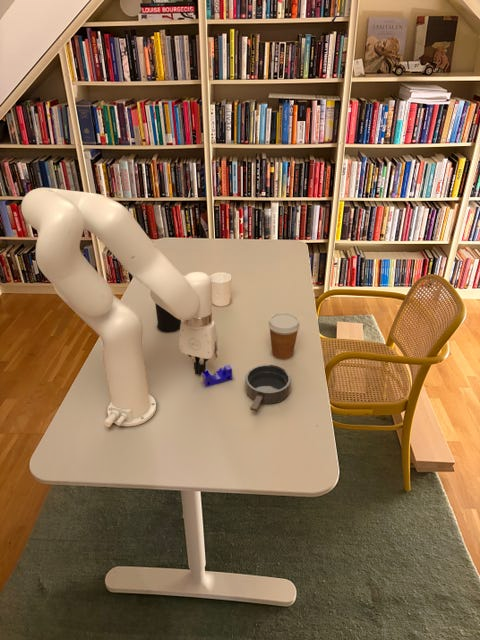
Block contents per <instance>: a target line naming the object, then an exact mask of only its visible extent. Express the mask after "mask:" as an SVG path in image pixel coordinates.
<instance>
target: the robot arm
mask: <svg viewBox="0 0 480 640" xmlns="http://www.w3.org/2000/svg"><path fill="white" fill-rule="evenodd" d="M20 208H21V209H20V210H21V214H22V216H23V218H24V220H25V221H26V223H27V224H28V225H30V226H31V227H32V228H33V229H34V230H36V231H37V232H38V236H37V240H36V243H35V261H36V264H37V267H38V270H40V272H41V273H42V274H43V276H44V277H45V278H46V279H47V280H48V281H49V282H50V283H51V284H52V285H53V289H54V292H55V293H56V295H58V297H59V298H60V299H61V300H62V301H63V302H64V303H65V304H66V305H67V306H68V307H69V308H70V309H71V310H72V311H73V312H74V313H75V314H76V315H77V316H78V317H79V318H80V319H81V320H82V321H83V322H84V323H85V324H87V325H88V327H90V328H91V329H92V330H93V331H94V332H95V333H96V334H97V335H98V337H100V338H101V341H102V343H103V350H102V361H103V366H104V369H105V374H106V376H105V377H106V380H107V385H108V390H109V395H110V400H111V401H110V403H108V406H107V409H106V410H107V417H106V418H105V419H104V420H103V426H105V427H106V428H110V427H111V426H112V425H113V424H115V425H117V427H120V426H121V427H135V426H139V425H142V424H144V423H146V422H147V421H149V420H150V419H151V418H152V417H153V416H154V415H155V413H156V411H157V401H156V399H155V397H154V396H153V395H151V394H150V393H149V387H148V386H149V385H148V379H147V372H146V365H145V359H144V351H143V350H144V349H143V333H144V326H143V322H142V319H141V317H140V316H139V315H138V313H137V312H136V311H135V310H134V309H133V308H131V306H129V305H128V304H127V303H125V302H123V301H122V300H121V299H120V298H118V297H117V296H116V295H115V294H114V293H113V291H112V289H111V286H110V285H109V282H107V280H106V279H105V277H103V276H102V275H101V274H100V273H99V272H98V271H97V270H96V269H95V268H94V266H92V265H91V264H90V262H89V261H88V259H87V258H86V257H85V256H84V254H83V253H82V251H81V248H80V245H81V240H82V237H83V234H84V231H88V232H89V233H91V234H93V235H94V236H95V237H97V238H98V239H99V240H100V241H101V242H102V244H103V245H104V246H105V248H107V249H108V250H109V251H110V253H111V254H112V255H113V257H115V258H116V260H117V261H118V262H119V263H120V264H121V266H122V267H123V268H124V269H125V270H126V271H127V272H128V273H129V274H130V275H131V276H132V277H133V278H134V279H135V280H137V281H138V282H140V283H141V284H142V285H143V286H145V287H146V288H148V289H149V295H150V297H151V299H152V301H153V302H154V303H156V304H157V305H159V306H160V307H162V308H163V309H164V310H166V311H168V312H169V313H170V314H172V315H173V316H174V317H176V318H177V319H179V320H181V326H180V329H179V333H178V348H179V349H178V350H179V351H180V352H181V353H182V354H184V355H187V356H188V357H189V358H190V359H191V362H192V363H193V370H194V374H195V375H198V376H202V375H203V372H204V371H206V369H207V364H206V362H208V361H209V360H210V361H216V360H217V359H218V353H217V352H218V349H219V346H218V345H219V342H218V341H219V340H218V332H217V327H216V324H215V323H216V322H215V321H214V320H213V303H212V283H211V278H210V275H209V274H208V273H206V272H203V271H191V272H188V273H186V274H184V275H183V274H182V273H181V272H180V271H179V270H178V269H177V268H176V266H174V264H173V263H172V262H171V261H170V260H169V259H168V258H167V256H165V255H164V254H163V252H162V251H160V250H159V248H158V247H157V246H156V245H155V243H154V242H153V241H152V240H151V239H150V237H149V236H148V235H147V233H146V232H145V231H144V229H143V228H142V227H141V225H140V224H139V222H138V221H137V220H136V218H135V217H134V216H133V215H132V213H131V212H130V211H129V210H128V209H127V207H125V206H124V205H122V204H121V203H120V202H118V201H116V200H113V199H111V198H110V197H108V196H105V195H103V194H100V193H95V192H87V191H77V190H70V189H69V190H68V189H60V188H54V187H53V188H52V187H37V188H35V189H32V190H30V191H28V192H27V193H26V194H25V195H24V197H23V198H22V201H21V206H20ZM156 304H155V305H156Z"/></svg>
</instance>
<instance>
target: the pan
mask: <svg viewBox="0 0 480 640" xmlns="http://www.w3.org/2000/svg"><path fill="white" fill-rule="evenodd" d="M291 379H292V378H291V375H290V374H289V372H288V371H287V370H286V369H285V368H283V367H280V366H278V365H275V364H261V365H257V366H254V367H252V368H250V370H248V371H247V373H246V374H245V392H246V395H247V396H248V397H249V398H250V399H251V400H253V401H254V400H255V398H256V396H257V394H262V395H264V398H263V400H262V402H261V404H266V405H267V404H270V405H272V404H276V403H280V402H282V401H284V400H285V399H287V397H289V395H290V392H291V384H292V383H291V382H292V381H291Z"/></svg>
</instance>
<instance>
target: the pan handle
mask: <svg viewBox="0 0 480 640" xmlns="http://www.w3.org/2000/svg"><path fill="white" fill-rule="evenodd" d="M263 398H264V395H262V394H257V396H256V398H255V400H253V402H252V404H251V406H250V411H253V412H258V410H259V408H260V406H261V404H262V403H261V402H262V400H263Z"/></svg>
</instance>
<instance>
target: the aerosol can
mask: <svg viewBox="0 0 480 640" xmlns="http://www.w3.org/2000/svg"><path fill="white" fill-rule="evenodd" d="M154 303H155V302H154ZM154 305H155V312H156V321H157V325H156V326H157V330H159V331H160V332H162V333H174V332H177V331H180V326H181V321H182V320H179V319H177V318H176V317H174V316H173V315H172V314H170V313H169V312H168V311H166V310H164V309H163V308H162V307H160V306H159V305H157V304H156V303H155V304H154Z"/></svg>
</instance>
